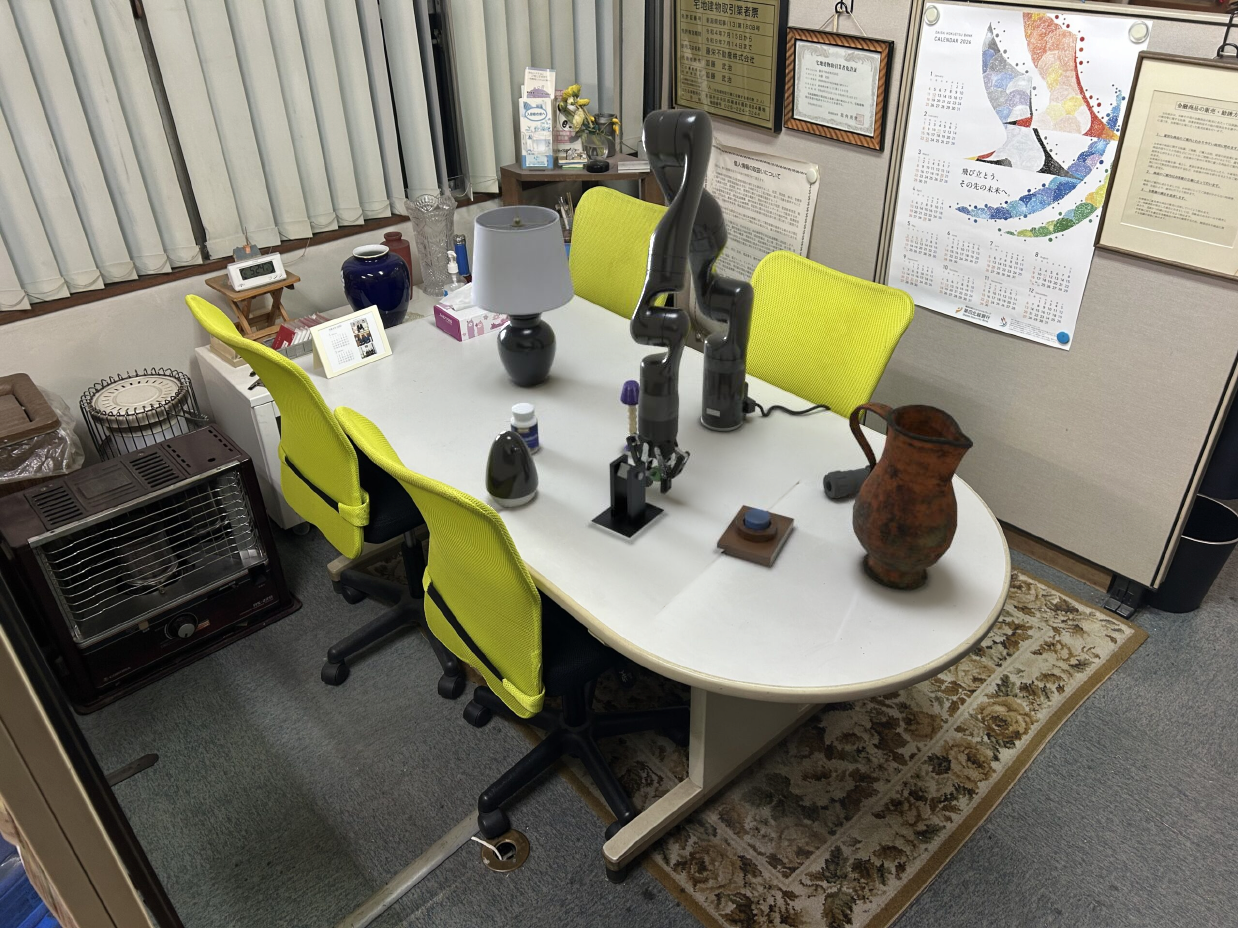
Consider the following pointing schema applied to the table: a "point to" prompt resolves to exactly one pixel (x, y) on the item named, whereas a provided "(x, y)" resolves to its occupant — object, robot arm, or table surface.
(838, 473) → the flashlight
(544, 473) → the table surface
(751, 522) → the light button
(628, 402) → the toy lamp
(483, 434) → the table surface
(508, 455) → the black egg-shaped dome
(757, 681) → the table surface
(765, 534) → the button block
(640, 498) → the switch bracket
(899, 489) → the pitcher
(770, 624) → the table surface
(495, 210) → the lamp
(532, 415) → the pill bottle
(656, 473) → the switch lever
